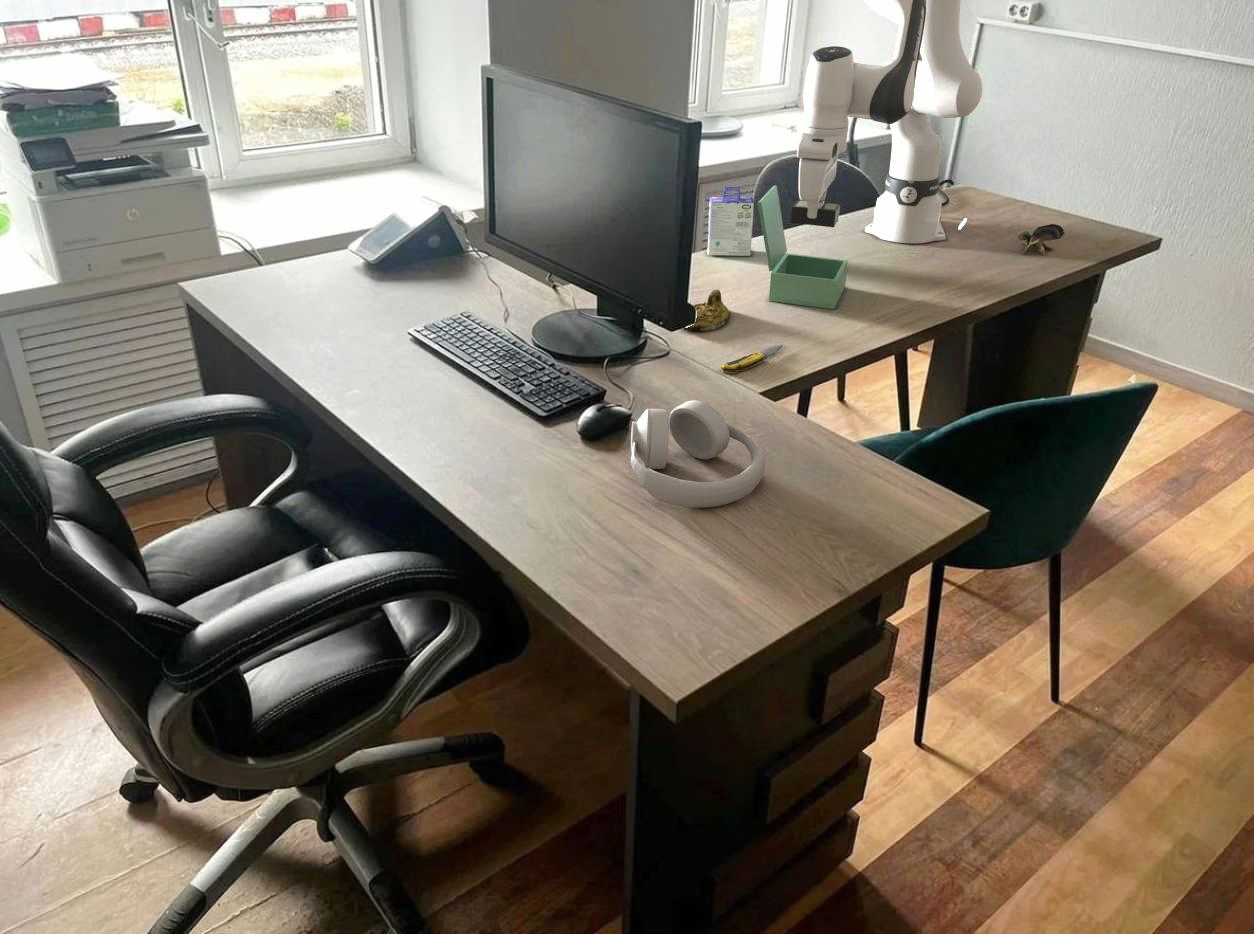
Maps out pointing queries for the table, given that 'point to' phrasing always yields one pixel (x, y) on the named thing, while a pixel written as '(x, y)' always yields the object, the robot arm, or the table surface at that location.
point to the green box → (808, 280)
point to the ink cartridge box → (730, 224)
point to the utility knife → (749, 360)
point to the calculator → (825, 217)
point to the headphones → (699, 437)
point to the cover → (772, 227)
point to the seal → (710, 313)
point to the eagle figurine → (1040, 237)
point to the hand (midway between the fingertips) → (815, 213)
